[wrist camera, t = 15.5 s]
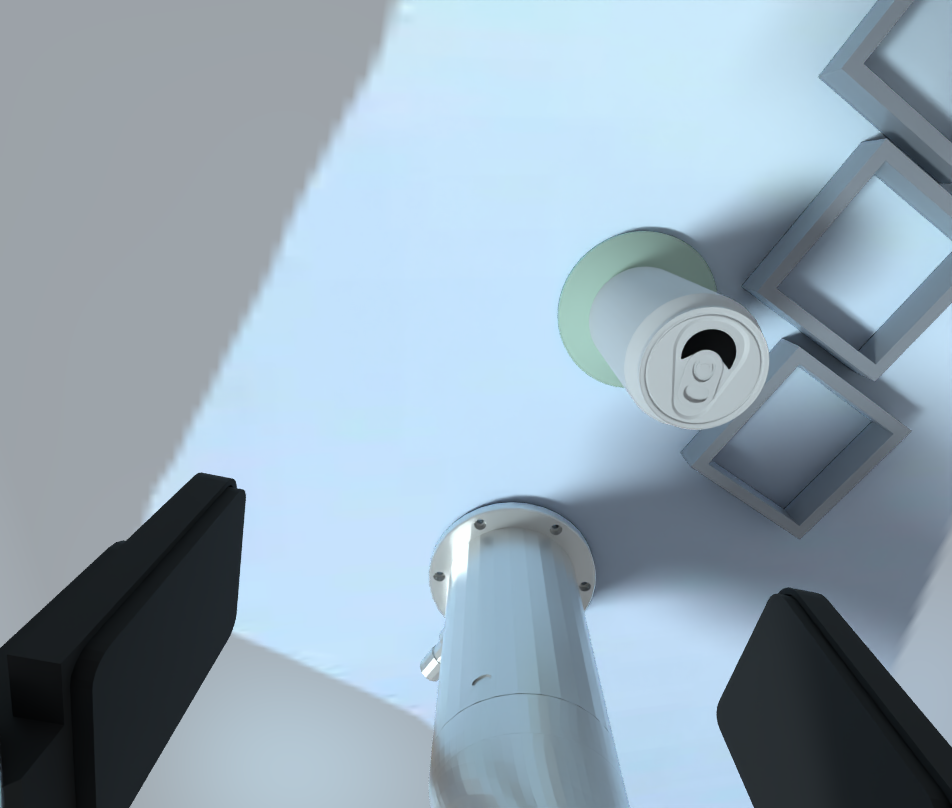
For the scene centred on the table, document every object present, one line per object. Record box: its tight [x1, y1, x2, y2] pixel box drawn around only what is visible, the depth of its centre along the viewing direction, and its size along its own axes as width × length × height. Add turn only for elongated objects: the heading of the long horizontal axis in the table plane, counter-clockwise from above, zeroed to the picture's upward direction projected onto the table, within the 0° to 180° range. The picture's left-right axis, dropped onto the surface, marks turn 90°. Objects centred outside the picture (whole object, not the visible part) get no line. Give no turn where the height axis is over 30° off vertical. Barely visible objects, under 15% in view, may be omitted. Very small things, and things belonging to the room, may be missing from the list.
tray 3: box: [681, 338, 911, 539], centre depth 38 cm, size 10×10×2 cm
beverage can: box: [589, 267, 769, 430], centre depth 30 cm, size 6×6×12 cm
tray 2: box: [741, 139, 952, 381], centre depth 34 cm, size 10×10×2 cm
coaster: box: [558, 231, 717, 388], centre depth 36 cm, size 10×10×1 cm
